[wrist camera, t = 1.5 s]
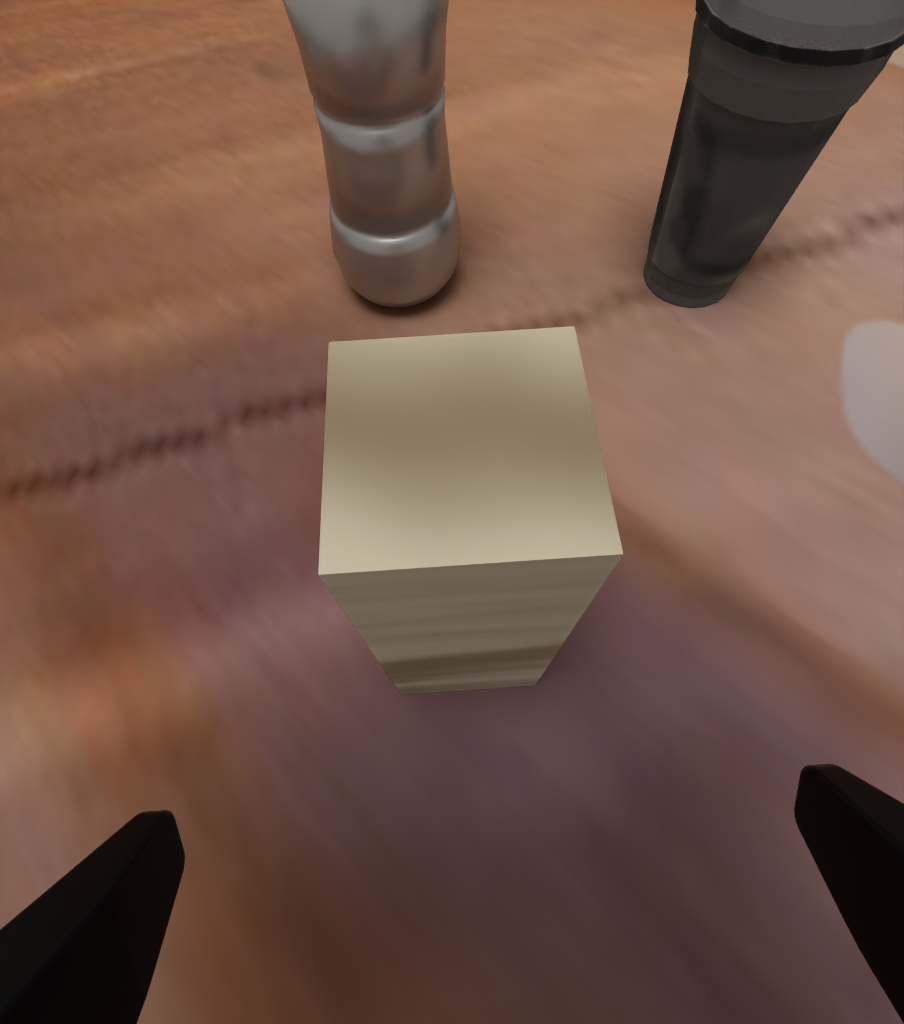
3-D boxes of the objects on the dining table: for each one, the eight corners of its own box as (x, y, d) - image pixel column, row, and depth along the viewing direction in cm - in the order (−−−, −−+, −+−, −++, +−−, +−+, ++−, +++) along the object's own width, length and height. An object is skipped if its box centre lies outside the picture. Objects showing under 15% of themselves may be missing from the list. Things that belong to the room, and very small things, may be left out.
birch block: (535, 685, 21) (623, 554, 9) (401, 694, 21) (318, 574, 9) (519, 559, 23) (574, 326, 11) (398, 568, 23) (329, 342, 11)
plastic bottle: (323, 311, 29) (101, -430, 12) (369, 227, 32) (247, -472, 14) (440, 336, 28) (395, -430, 11) (476, 248, 31) (490, -474, 13)
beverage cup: (745, 343, 28) (1250, -462, 10) (602, 306, 29) (819, -464, 11) (765, 248, 31) (1183, -504, 13) (635, 219, 32) (848, -501, 14)
